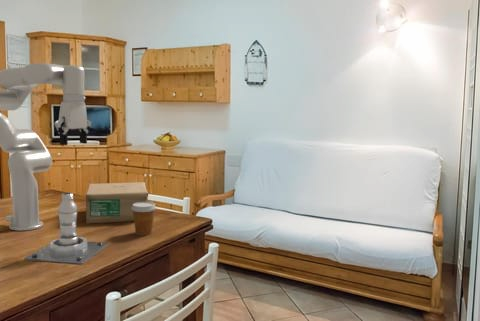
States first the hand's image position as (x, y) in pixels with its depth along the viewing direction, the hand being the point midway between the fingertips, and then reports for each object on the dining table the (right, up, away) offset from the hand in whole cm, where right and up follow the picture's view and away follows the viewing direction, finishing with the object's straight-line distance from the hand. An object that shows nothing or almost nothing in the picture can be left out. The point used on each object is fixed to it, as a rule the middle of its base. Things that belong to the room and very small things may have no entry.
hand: (73, 144), depth 162 cm
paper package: (+7, -32, +36) cm, 49 cm away
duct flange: (+4, -38, -14) cm, 41 cm away
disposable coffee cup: (+25, -36, +9) cm, 45 cm away
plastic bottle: (+4, -38, -15) cm, 41 cm away
